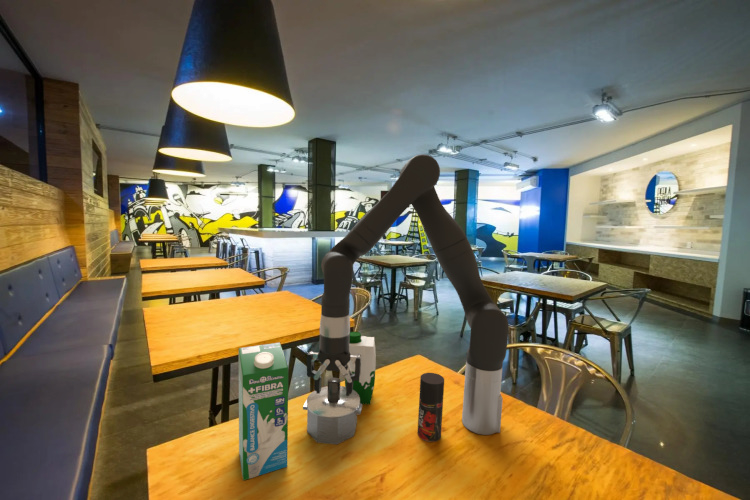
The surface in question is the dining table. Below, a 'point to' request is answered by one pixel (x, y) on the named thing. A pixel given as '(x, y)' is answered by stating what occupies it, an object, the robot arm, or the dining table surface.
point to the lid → (333, 401)
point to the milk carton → (263, 409)
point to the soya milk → (363, 365)
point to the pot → (331, 427)
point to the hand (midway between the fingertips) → (333, 393)
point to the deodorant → (430, 407)
